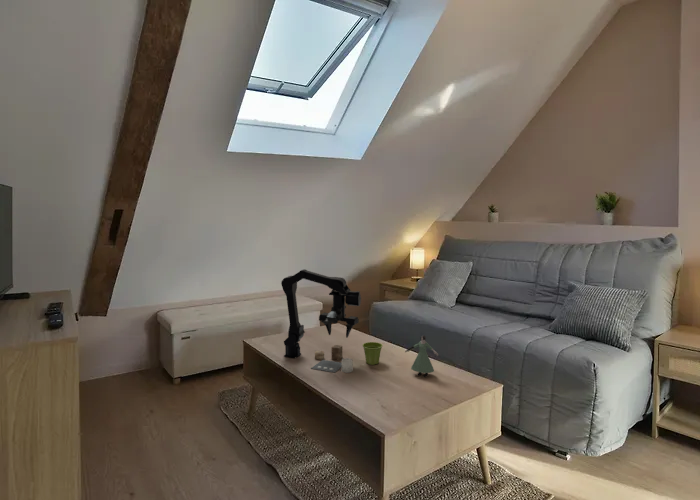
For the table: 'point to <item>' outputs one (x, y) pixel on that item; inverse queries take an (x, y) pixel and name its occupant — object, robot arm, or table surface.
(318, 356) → the beige round knob
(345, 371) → the white rounded block
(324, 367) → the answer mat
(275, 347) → the table surface
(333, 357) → the walnut block
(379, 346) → the plant pot
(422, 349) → the character figurine
